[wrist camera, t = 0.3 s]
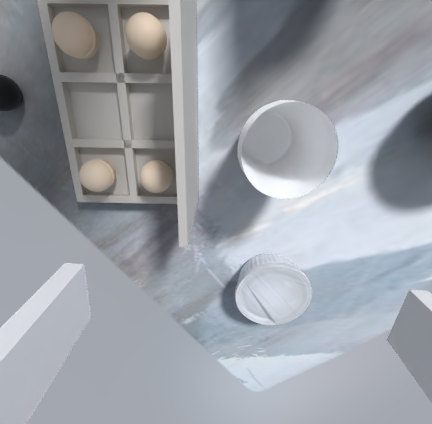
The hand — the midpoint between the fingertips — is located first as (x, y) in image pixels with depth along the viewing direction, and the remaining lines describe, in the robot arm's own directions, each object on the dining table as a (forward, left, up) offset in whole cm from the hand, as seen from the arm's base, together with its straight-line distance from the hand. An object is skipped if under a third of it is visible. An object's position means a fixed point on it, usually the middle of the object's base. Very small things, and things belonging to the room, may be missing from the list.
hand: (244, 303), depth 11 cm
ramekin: (+18, +7, -28) cm, 34 cm away
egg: (-9, -28, -28) cm, 40 cm away
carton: (-7, -13, -27) cm, 31 cm away
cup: (-4, +5, -28) cm, 28 cm away
